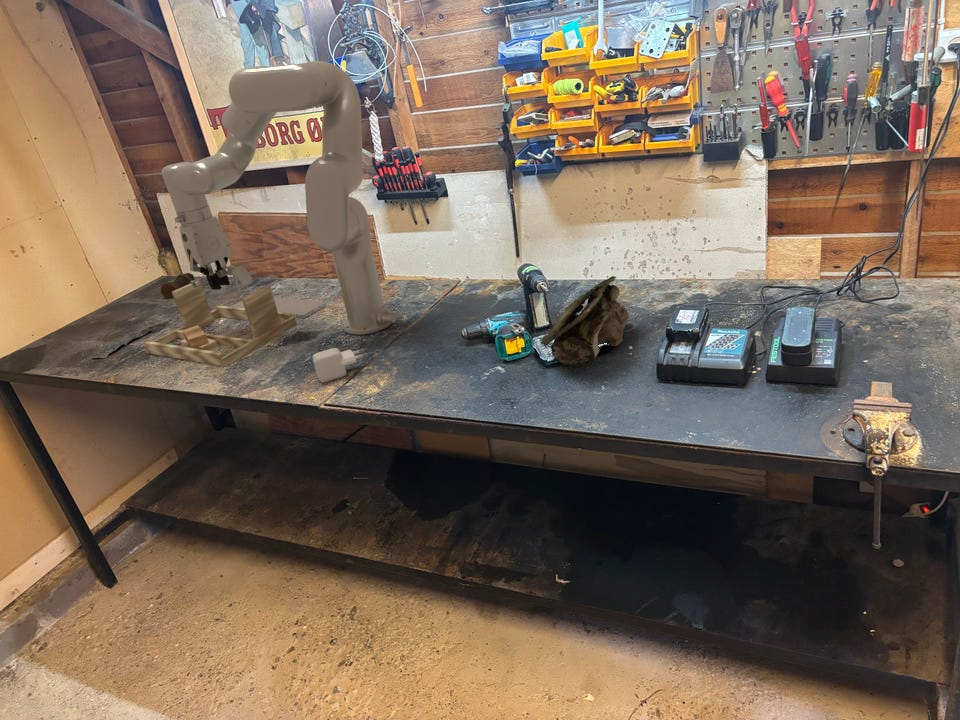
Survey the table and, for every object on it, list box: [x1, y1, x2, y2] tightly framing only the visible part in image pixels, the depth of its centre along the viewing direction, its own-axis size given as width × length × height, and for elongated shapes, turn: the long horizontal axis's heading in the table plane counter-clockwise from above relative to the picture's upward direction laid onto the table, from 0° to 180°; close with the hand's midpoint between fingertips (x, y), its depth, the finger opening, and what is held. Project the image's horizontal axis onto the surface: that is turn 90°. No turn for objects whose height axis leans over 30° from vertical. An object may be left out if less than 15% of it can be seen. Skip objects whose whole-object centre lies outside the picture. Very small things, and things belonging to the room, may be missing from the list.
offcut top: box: [182, 326, 209, 348], centre depth 158 cm, size 8×4×2 cm, turn 35°
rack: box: [143, 280, 298, 367], centre depth 162 cm, size 30×24×12 cm
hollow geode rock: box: [540, 275, 630, 370], centre depth 129 cm, size 28×13×15 cm
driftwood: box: [92, 322, 157, 360], centre depth 172 cm, size 21×7×2 cm, turn 160°
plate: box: [230, 296, 327, 319], centre depth 180 cm, size 29×9×1 cm, turn 61°
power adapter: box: [312, 347, 369, 383], centre depth 136 cm, size 11×5×6 cm, turn 114°
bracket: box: [191, 264, 254, 293], centre depth 162 cm, size 3×21×10 cm, turn 58°
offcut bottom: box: [180, 338, 220, 352], centre depth 159 cm, size 10×4×3 cm, turn 53°
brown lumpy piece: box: [160, 272, 195, 300], centre depth 207 cm, size 6×5×15 cm
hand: (220, 286), depth 162 cm, fingers closed on bracket, 2 cm apart
